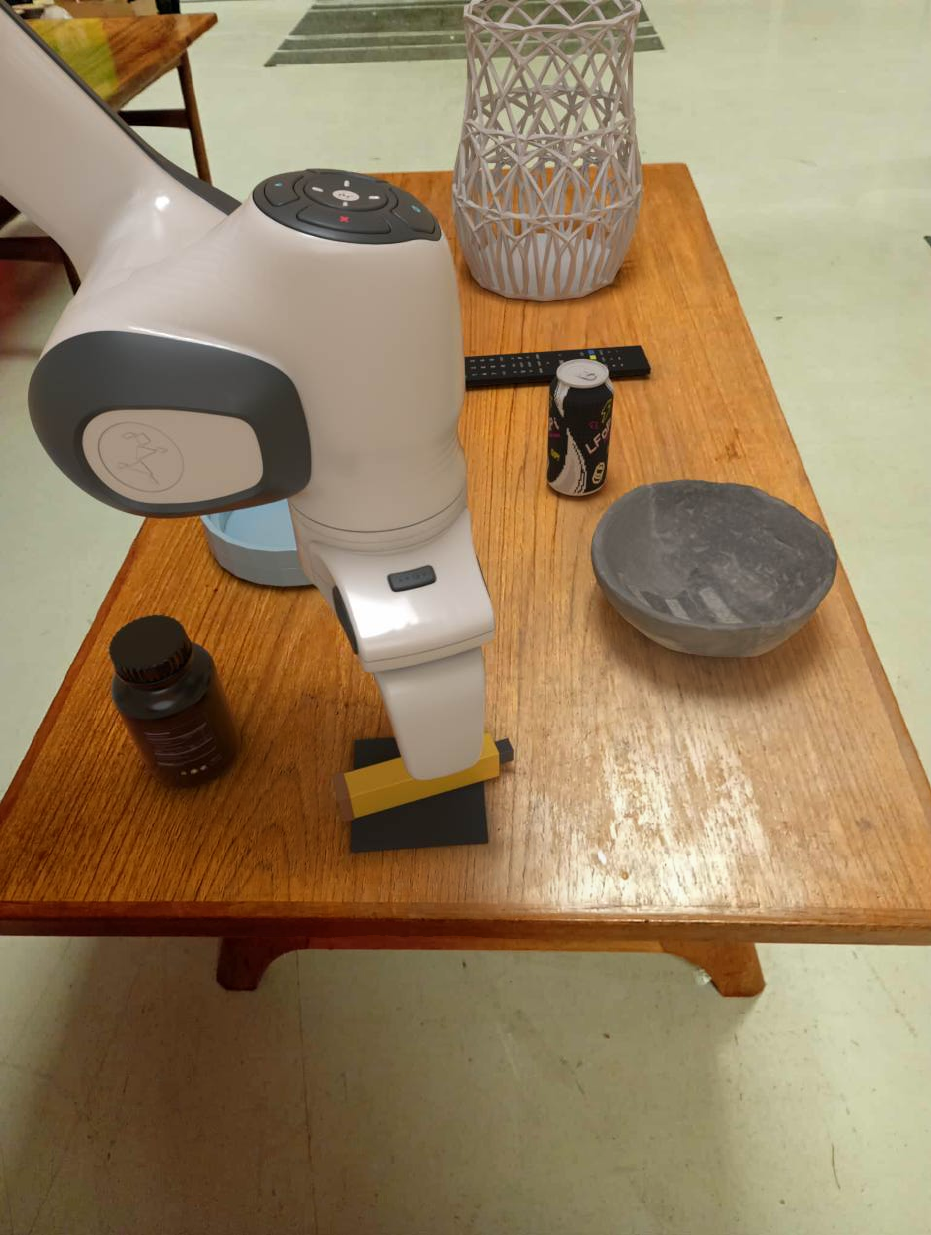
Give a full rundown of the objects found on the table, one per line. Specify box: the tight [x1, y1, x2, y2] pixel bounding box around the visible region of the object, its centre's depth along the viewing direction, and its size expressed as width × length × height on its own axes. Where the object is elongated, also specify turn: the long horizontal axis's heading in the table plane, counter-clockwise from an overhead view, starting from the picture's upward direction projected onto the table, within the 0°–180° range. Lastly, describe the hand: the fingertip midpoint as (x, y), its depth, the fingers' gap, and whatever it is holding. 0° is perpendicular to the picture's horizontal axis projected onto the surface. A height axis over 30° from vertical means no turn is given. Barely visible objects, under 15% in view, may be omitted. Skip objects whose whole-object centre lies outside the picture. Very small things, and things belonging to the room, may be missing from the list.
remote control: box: [464, 344, 652, 387], centre depth 100 cm, size 5×24×1 cm, turn 94°
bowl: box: [590, 478, 838, 658], centre depth 70 cm, size 18×18×8 cm
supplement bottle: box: [108, 614, 242, 790], centre depth 60 cm, size 7×7×12 cm
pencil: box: [331, 732, 515, 823], centre depth 60 cm, size 12×2×3 cm, turn 108°
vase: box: [451, 0, 643, 302], centre depth 110 cm, size 24×24×30 cm
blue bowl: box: [199, 499, 314, 587], centre depth 81 cm, size 17×17×4 cm
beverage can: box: [545, 359, 615, 497], centre depth 81 cm, size 6×6×12 cm
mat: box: [350, 736, 489, 854], centre depth 61 cm, size 9×9×1 cm
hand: (401, 698), depth 55 cm, fingers open, 8 cm apart
